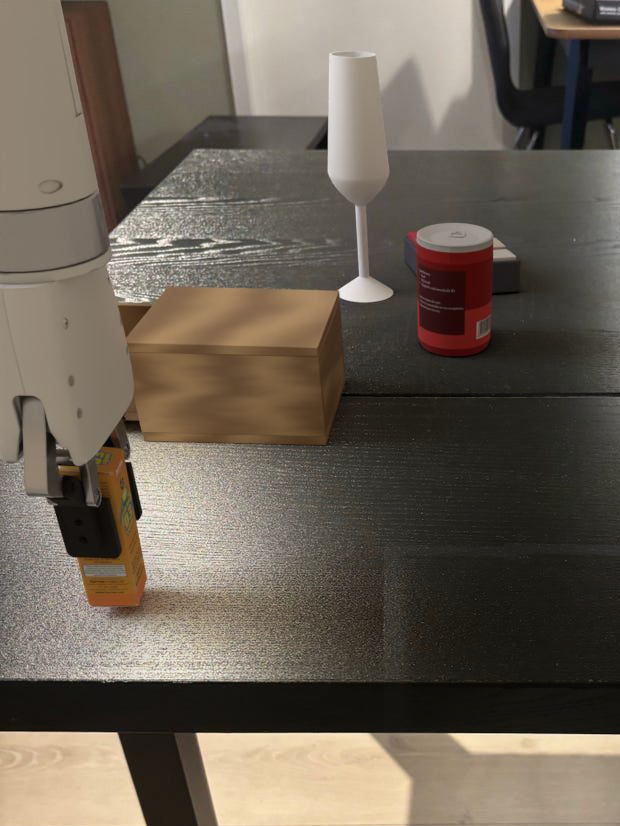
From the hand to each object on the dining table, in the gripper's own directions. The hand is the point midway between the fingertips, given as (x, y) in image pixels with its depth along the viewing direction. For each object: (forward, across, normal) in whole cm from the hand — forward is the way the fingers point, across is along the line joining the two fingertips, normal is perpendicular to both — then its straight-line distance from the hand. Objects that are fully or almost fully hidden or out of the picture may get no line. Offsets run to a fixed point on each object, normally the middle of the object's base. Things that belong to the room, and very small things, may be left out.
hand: (106, 533), depth 59 cm
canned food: (+6, -47, +20) cm, 51 cm away
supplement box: (+5, 0, 0) cm, 5 cm away
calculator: (+6, -69, +20) cm, 72 cm away
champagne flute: (+6, -62, +10) cm, 63 cm away
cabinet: (+6, -30, +2) cm, 30 cm away
